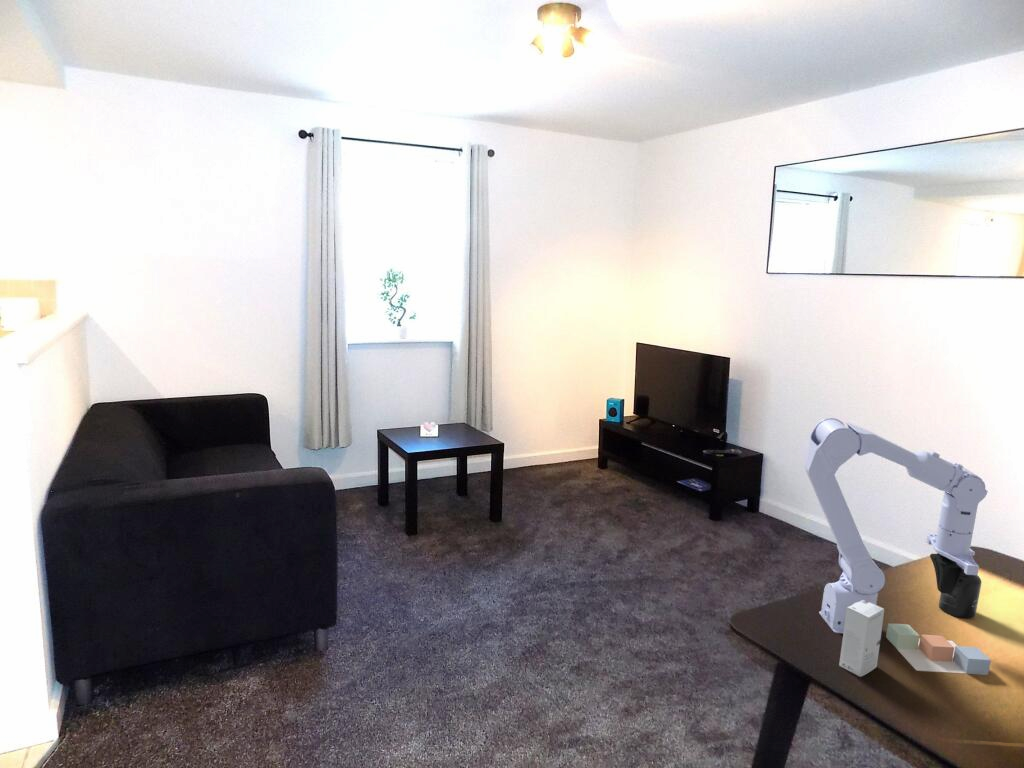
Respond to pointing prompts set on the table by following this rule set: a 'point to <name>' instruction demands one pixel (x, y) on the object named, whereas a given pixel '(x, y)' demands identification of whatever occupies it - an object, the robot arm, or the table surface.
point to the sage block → (902, 636)
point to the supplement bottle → (962, 597)
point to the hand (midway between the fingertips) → (944, 591)
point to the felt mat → (929, 661)
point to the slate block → (971, 660)
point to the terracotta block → (936, 648)
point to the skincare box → (861, 637)
